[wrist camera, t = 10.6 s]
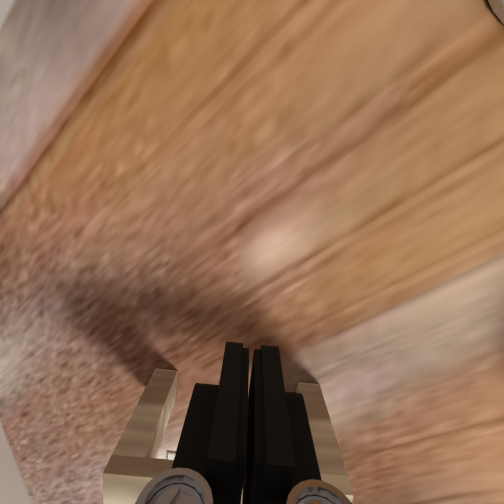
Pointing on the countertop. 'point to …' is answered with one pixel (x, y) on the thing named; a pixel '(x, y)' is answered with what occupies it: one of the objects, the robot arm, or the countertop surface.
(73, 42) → the countertop surface
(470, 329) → the countertop surface
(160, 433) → the bridge
